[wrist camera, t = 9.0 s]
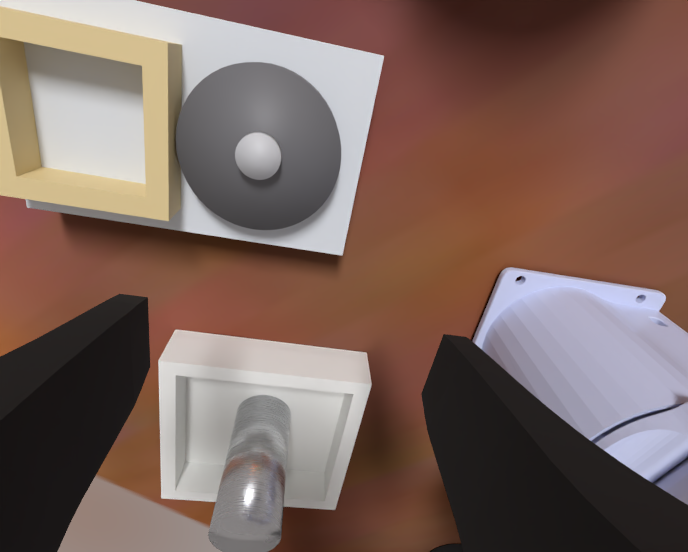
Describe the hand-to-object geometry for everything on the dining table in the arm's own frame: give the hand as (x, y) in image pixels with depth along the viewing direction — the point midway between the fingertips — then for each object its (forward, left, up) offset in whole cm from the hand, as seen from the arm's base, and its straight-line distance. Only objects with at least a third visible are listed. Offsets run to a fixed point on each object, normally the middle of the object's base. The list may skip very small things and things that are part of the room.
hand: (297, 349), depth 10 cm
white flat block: (+5, -3, -10) cm, 12 cm away
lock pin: (+1, +13, -10) cm, 16 cm away
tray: (+1, +13, -10) cm, 17 cm away
